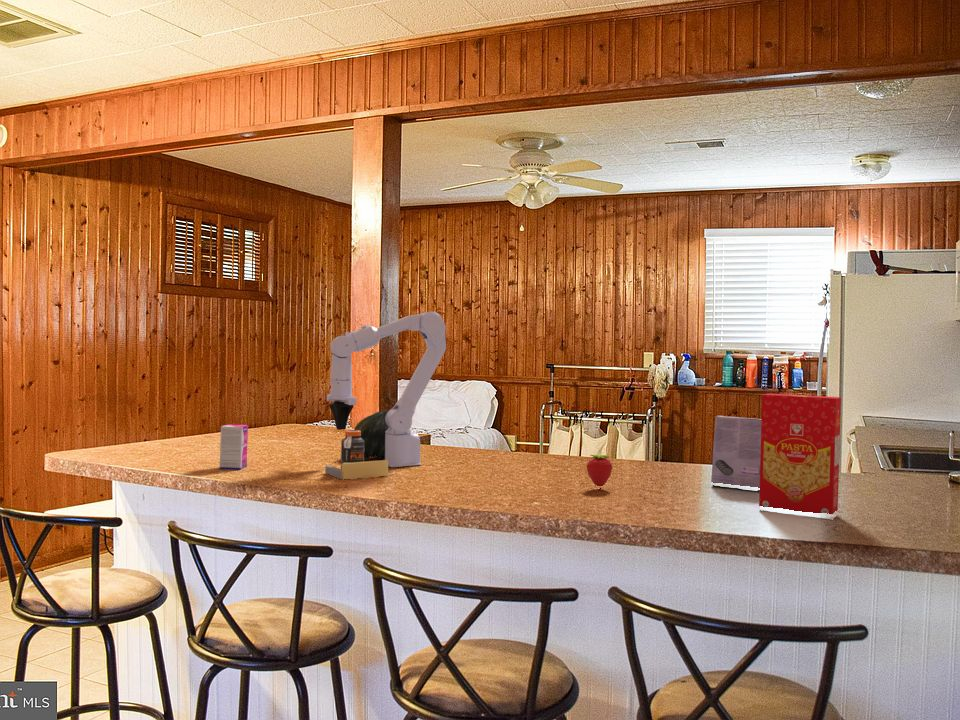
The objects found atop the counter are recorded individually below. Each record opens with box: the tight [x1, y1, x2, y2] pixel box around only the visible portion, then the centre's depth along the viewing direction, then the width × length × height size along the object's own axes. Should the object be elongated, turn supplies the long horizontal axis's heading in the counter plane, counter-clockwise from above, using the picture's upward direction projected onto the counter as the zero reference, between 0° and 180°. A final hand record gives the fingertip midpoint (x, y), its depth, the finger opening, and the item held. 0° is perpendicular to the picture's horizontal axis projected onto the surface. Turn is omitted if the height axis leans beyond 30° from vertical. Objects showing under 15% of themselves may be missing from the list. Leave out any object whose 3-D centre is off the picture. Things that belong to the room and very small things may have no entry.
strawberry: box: [586, 449, 613, 487], centre depth 195 cm, size 6×8×10 cm
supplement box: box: [219, 423, 249, 471], centre depth 216 cm, size 6×6×12 cm
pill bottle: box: [340, 429, 365, 470], centre depth 211 cm, size 6×6×11 cm
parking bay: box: [324, 459, 389, 481], centre depth 209 cm, size 12×11×4 cm
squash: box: [353, 410, 389, 460], centre depth 238 cm, size 14×15×15 cm
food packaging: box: [758, 393, 842, 514], centre depth 171 cm, size 15×5×25 cm, turn 56°
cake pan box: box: [710, 415, 761, 488], centre depth 198 cm, size 19×5×18 cm, turn 59°
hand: (341, 429), depth 222 cm, fingers closed
